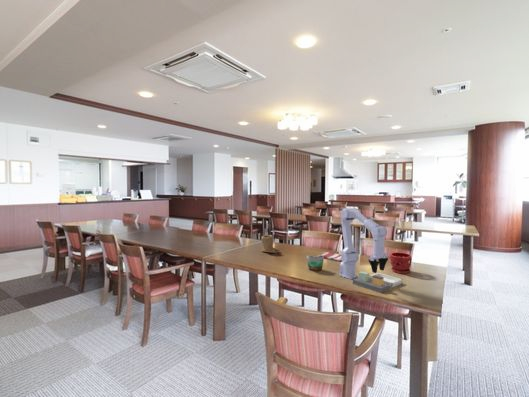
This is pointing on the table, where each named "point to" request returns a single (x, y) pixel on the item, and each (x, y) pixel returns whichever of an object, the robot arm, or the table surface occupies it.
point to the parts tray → (388, 279)
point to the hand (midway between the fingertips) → (378, 271)
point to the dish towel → (332, 256)
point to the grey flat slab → (371, 285)
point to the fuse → (363, 276)
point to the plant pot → (400, 262)
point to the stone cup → (268, 244)
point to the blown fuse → (377, 280)
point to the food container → (315, 263)
